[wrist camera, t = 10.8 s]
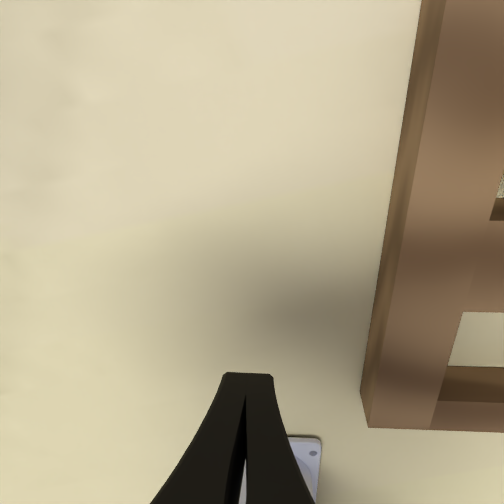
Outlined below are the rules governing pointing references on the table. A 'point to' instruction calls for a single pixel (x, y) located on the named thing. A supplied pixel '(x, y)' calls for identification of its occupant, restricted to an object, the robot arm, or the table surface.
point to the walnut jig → (442, 229)
